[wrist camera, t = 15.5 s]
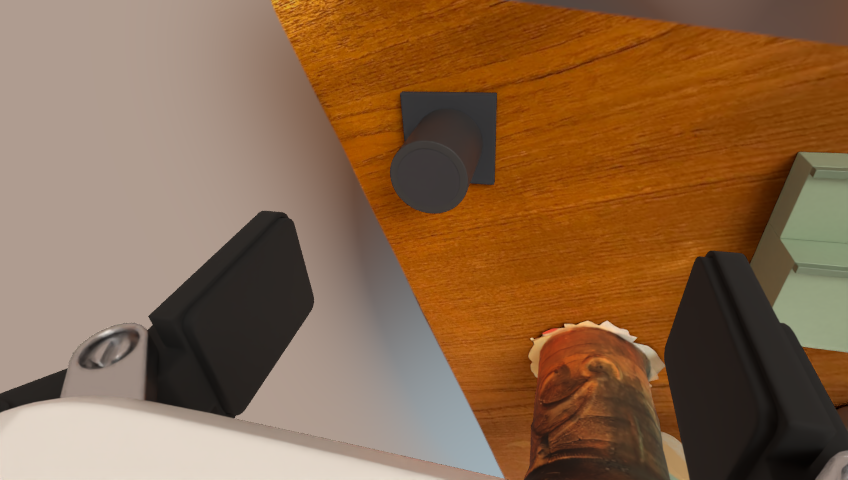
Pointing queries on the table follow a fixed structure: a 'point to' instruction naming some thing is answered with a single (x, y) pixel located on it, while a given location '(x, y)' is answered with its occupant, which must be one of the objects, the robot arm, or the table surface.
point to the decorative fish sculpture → (674, 457)
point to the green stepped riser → (809, 252)
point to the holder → (437, 161)
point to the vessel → (594, 406)
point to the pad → (469, 103)
